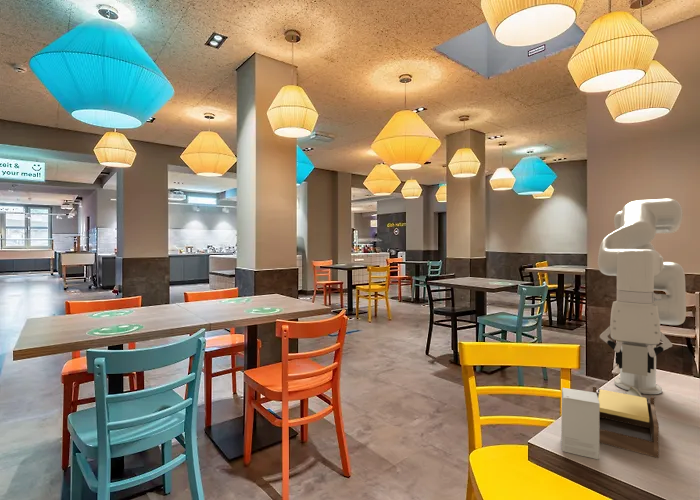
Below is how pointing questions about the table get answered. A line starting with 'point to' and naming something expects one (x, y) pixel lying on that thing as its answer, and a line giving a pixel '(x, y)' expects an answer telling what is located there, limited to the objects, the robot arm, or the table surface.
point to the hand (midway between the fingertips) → (634, 368)
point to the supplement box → (580, 423)
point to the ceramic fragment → (633, 392)
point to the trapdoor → (623, 405)
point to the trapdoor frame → (628, 441)
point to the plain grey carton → (634, 358)
